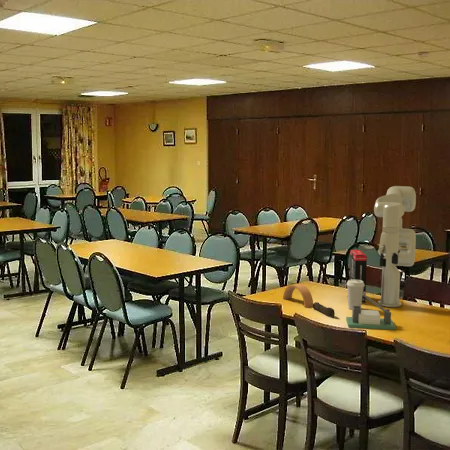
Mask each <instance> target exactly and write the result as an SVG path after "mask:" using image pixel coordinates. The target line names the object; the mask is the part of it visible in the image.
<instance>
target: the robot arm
mask: <svg viewBox="0 0 450 450" xmlns="http://www.w3.org/2000/svg"><path fill="white" fill-rule="evenodd" d="M386 191H387V192H386V194H385V195H382V196H379V197H378V198H377V199H376V200H375V203H374V206H373V211H374V212H373V213H374V216H376V217H377V218H382V231H381V234H380V238H379V239H380V240H379V247H378V250H377V253H378V256H379V267H382V270H381V271H382V272H381V290H380V291H381V292H380V293H381V294H380V299H379V300H378V301H377V304H379V305H380V306H381V307H387V308H399V307H401V306H402V302H401V301H400V286H401V272H400V270H399V269H398V268H397V267H398V266H399V267H402V266H403V267H413V266H414V264H415V259H416V247H417V245H416V244H417V241H416V239H417V237H416V235H417V234H416V231H415V230H414V229H412V228H403V218H402V217H403V216H404V214H405V212H407V213H409V212H413V211H414V210H415V209H416V205H417V200H416V199H417V195H416V191H415V188H413V186H405V185H403V186H402V185H394V186H391V187H389V188H388V189H387V190H386ZM405 247H406V248H405Z"/></svg>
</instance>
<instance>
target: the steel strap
mask: <svg viewBox="0 0 450 450" xmlns="http://www.w3.org/2000/svg"><path fill="white" fill-rule="evenodd" d="M365 294H367V291H366V292H364V293H362V296H364V297H365V300H366V299H367V301H369V302H370V303H372V304H373V305H375V306H376V307H377V308H378V309H380V310H381V311H383V312H385V313H386V312H388V311H387V310H385V309H386V308H385V307H384V306H381V305H379V304H378V302H376V301H375V300H373V299H372V298H370V297H369V296H367V295H365Z"/></svg>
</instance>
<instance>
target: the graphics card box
mask: <svg viewBox="0 0 450 450" xmlns="http://www.w3.org/2000/svg"><path fill="white" fill-rule="evenodd" d="M349 259H350V260H349V280H361V281H363V282H364V284H365V286H364V288H363V293H364V292H366V294H367V291H366V290H367V265H368V264H367V263H368V260H367V259H368V256H367V255H366V254H365V252H364V251H362V250H361V249H350V258H349ZM366 294H365V295H366ZM366 296H367V295H366ZM365 303H366V298H365V297H364V296H362V303H361V304H365Z"/></svg>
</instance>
